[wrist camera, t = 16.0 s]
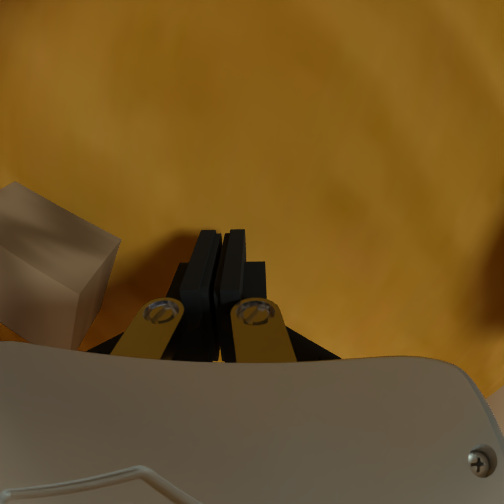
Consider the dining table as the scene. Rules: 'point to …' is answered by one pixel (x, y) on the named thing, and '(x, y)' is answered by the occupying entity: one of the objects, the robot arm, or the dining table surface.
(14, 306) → the block
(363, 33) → the dining table surface
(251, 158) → the dining table surface
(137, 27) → the dining table surface
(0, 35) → the dining table surface
